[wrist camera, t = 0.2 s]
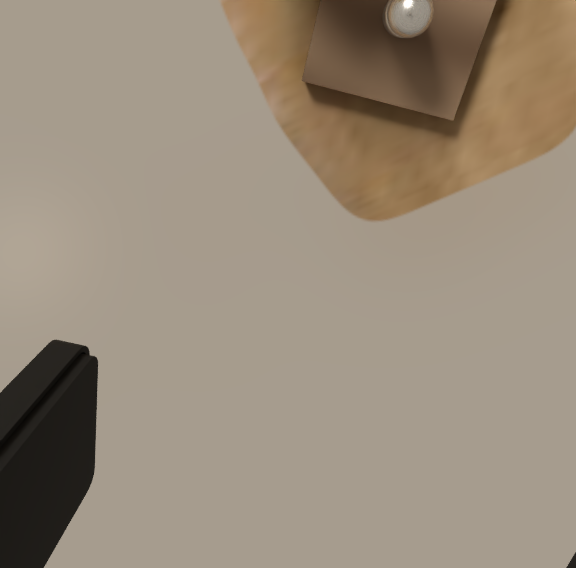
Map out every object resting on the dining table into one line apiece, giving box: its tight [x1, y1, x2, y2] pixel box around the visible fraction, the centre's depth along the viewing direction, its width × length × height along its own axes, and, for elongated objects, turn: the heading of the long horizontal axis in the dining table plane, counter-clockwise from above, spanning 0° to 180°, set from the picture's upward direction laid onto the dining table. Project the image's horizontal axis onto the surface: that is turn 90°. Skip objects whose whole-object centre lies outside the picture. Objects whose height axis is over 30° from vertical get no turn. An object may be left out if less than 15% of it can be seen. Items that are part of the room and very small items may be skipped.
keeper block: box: [302, 0, 497, 121], centre depth 30 cm, size 10×10×7 cm
